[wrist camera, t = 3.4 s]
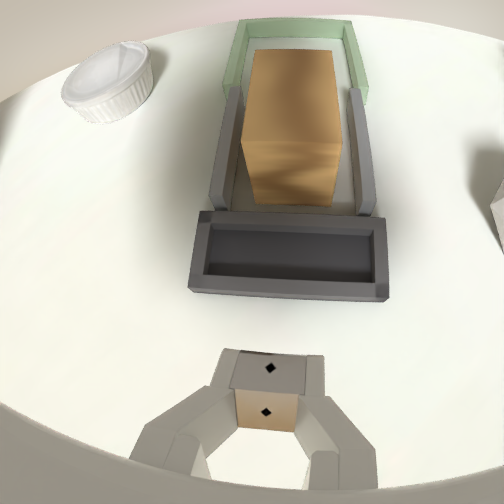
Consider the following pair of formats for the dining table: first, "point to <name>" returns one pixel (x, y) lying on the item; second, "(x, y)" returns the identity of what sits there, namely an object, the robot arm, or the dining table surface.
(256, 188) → the oak brick
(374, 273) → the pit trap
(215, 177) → the tunnel rails
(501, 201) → the die
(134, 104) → the ramekin
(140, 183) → the dining table surface
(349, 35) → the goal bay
